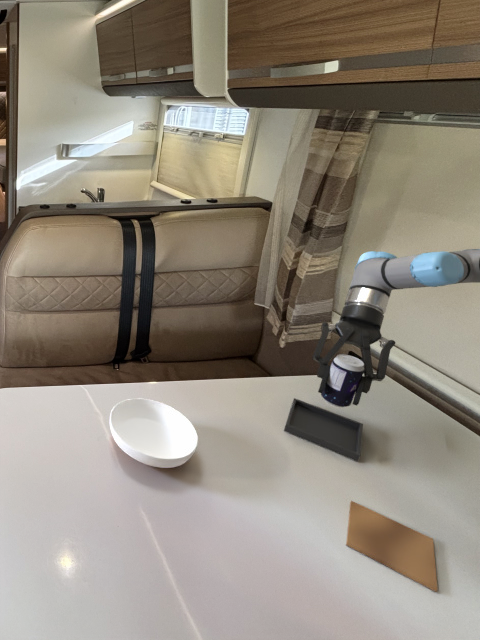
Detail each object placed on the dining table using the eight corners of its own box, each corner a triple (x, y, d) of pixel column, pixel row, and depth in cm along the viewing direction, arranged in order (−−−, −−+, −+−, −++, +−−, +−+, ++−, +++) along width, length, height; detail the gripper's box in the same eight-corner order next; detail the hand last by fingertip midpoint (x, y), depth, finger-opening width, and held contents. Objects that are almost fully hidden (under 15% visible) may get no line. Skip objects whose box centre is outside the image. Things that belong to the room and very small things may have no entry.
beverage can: (347, 413, 100) (364, 370, 95) (317, 400, 104) (332, 359, 99) (352, 402, 103) (368, 360, 99) (322, 390, 107) (337, 350, 103)
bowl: (153, 409, 115) (156, 391, 112) (212, 466, 98) (218, 445, 95) (91, 427, 109) (93, 408, 107) (142, 490, 92) (146, 469, 90)
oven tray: (360, 429, 107) (363, 423, 106) (357, 461, 98) (360, 455, 97) (292, 403, 116) (294, 397, 115) (283, 430, 107) (285, 424, 106)
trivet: (431, 540, 81) (433, 538, 81) (436, 592, 73) (437, 590, 73) (350, 502, 89) (351, 500, 89) (346, 545, 81) (347, 543, 80)
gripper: (412, 328, 101) (388, 419, 96) (314, 304, 113) (288, 384, 108) (421, 317, 96) (396, 413, 91) (317, 293, 108) (290, 376, 103)
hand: (337, 397), depth 100 cm, fingers closed on beverage can, 6 cm apart
